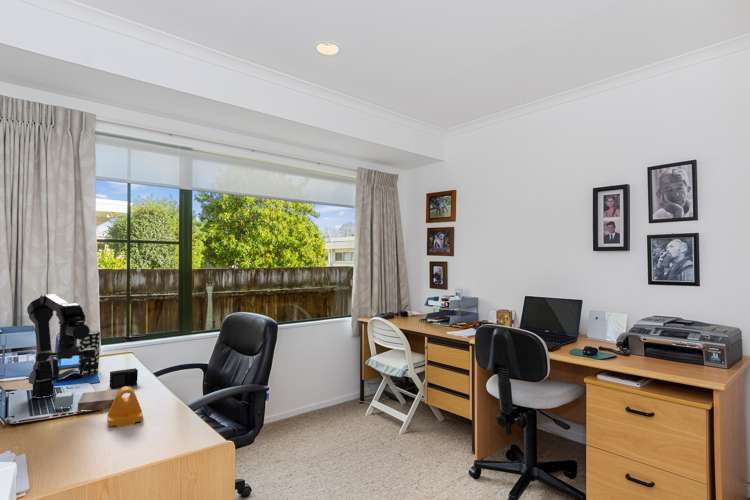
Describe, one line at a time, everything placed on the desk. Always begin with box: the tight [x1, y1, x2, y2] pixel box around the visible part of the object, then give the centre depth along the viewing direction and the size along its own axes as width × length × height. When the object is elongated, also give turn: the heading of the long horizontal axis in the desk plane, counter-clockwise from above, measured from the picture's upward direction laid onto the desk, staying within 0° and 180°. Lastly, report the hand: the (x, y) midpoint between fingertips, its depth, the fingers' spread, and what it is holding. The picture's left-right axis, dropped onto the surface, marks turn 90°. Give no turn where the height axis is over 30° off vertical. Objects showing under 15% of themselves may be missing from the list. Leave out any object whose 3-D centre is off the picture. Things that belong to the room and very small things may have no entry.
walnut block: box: [77, 388, 121, 412], centre depth 169 cm, size 13×13×4 cm
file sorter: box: [53, 332, 79, 370], centre depth 230 cm, size 25×17×15 cm
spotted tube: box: [77, 330, 101, 376], centre depth 211 cm, size 8×8×20 cm
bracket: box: [106, 386, 144, 428], centre depth 154 cm, size 11×7×12 cm, turn 124°
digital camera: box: [109, 368, 139, 390], centre depth 193 cm, size 10×5×7 cm, turn 132°
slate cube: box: [54, 391, 74, 409], centre depth 166 cm, size 5×5×5 cm
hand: (66, 376), depth 166 cm, fingers open, 9 cm apart
